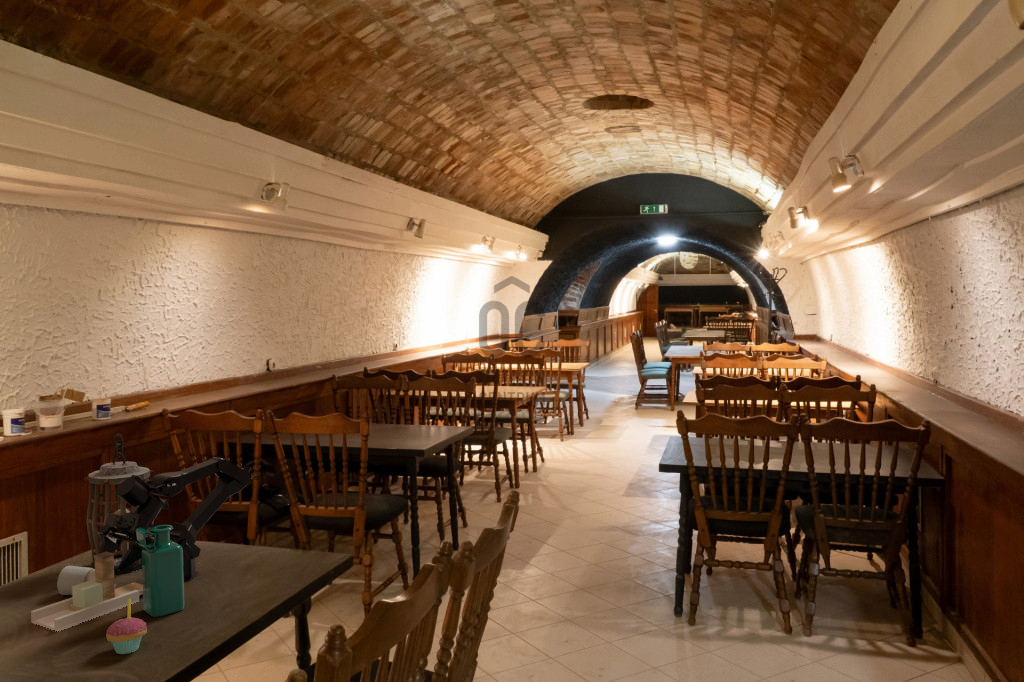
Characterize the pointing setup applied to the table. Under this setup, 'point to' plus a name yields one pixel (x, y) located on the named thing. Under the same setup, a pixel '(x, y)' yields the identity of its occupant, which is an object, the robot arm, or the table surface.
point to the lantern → (106, 477)
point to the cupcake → (126, 633)
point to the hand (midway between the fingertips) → (108, 567)
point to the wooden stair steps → (109, 579)
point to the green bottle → (161, 572)
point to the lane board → (64, 617)
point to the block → (87, 594)
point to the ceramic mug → (73, 578)
